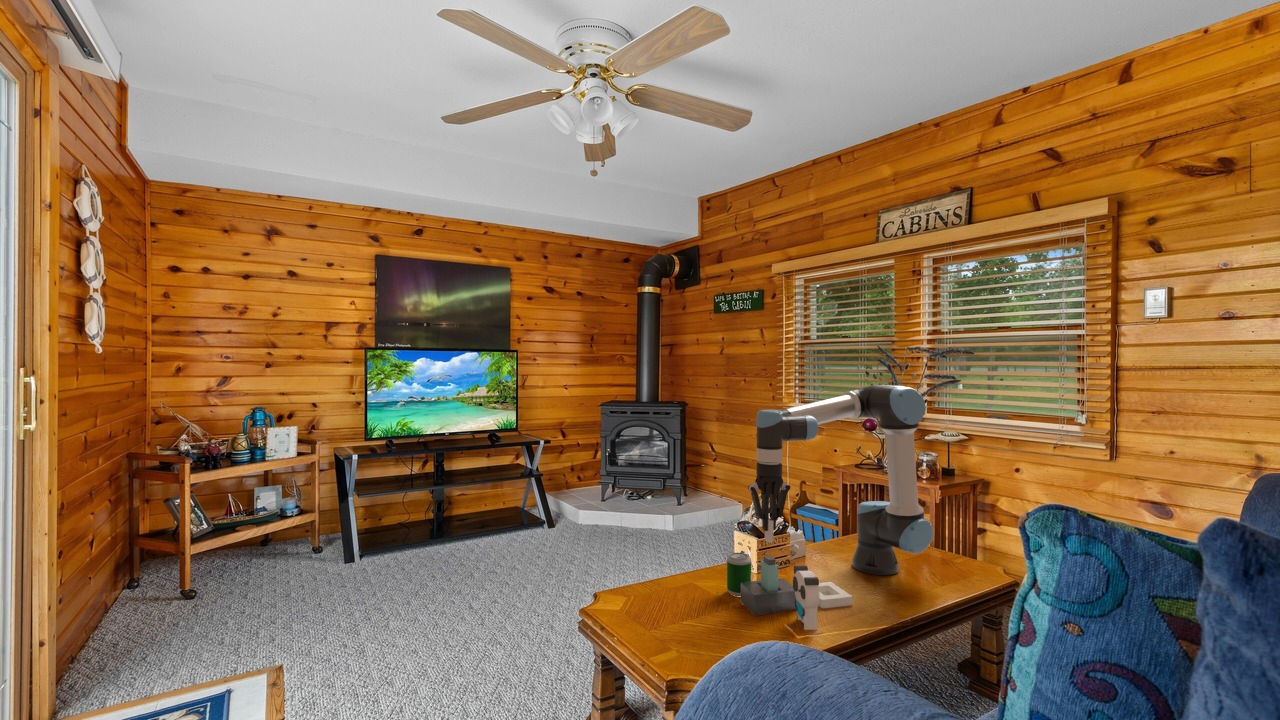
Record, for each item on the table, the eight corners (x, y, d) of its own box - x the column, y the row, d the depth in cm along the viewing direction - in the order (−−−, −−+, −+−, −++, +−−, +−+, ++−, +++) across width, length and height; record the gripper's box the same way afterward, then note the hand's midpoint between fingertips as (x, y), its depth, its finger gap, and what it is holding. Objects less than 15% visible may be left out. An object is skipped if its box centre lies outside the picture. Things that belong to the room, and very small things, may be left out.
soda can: (751, 599, 187) (751, 560, 187) (726, 597, 188) (726, 558, 188) (751, 590, 194) (751, 552, 194) (727, 588, 196) (727, 551, 196)
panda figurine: (780, 616, 175) (780, 564, 175) (819, 615, 176) (819, 563, 175) (792, 635, 163) (792, 580, 163) (834, 634, 164) (834, 579, 163)
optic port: (783, 597, 188) (783, 578, 188) (798, 610, 179) (798, 590, 178) (740, 601, 185) (740, 582, 185) (754, 615, 175) (754, 595, 175)
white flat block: (831, 591, 193) (831, 581, 193) (852, 606, 181) (852, 596, 181) (802, 594, 191) (802, 584, 191) (822, 610, 179) (822, 599, 179)
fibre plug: (770, 595, 185) (770, 554, 184) (778, 602, 180) (778, 559, 180) (760, 596, 184) (760, 555, 184) (768, 603, 179) (768, 560, 179)
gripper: (783, 459, 186) (783, 536, 187) (743, 460, 183) (743, 539, 184) (795, 463, 179) (795, 543, 179) (754, 465, 176) (753, 546, 176)
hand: (769, 541), depth 181 cm, fingers closed
